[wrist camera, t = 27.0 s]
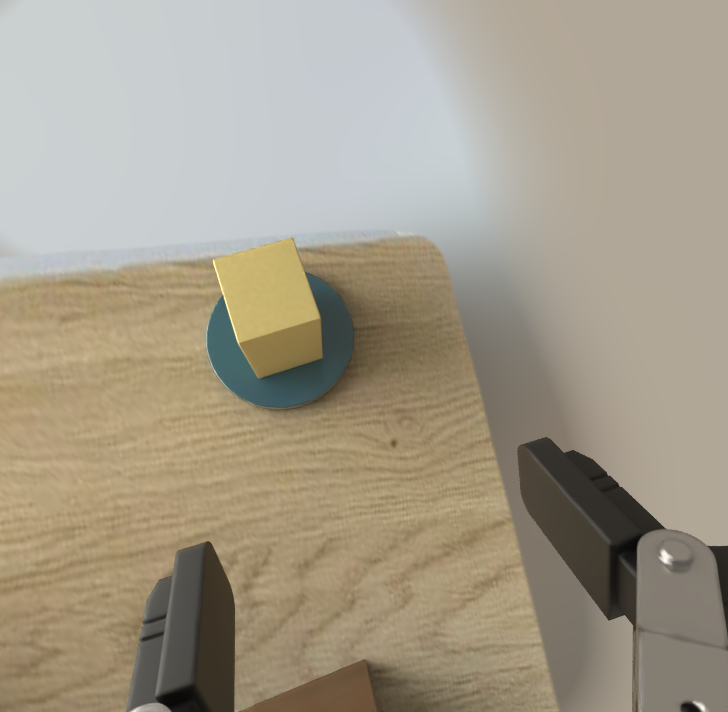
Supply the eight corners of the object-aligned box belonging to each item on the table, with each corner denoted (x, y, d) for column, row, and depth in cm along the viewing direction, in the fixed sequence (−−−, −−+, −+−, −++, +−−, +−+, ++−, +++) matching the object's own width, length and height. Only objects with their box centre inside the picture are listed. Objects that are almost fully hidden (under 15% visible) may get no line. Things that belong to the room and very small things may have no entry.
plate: (288, 247, 38) (287, 241, 37) (382, 343, 37) (383, 339, 36) (179, 335, 36) (174, 330, 35) (274, 441, 34) (273, 439, 33)
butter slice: (323, 358, 35) (321, 318, 27) (258, 379, 34) (238, 343, 27) (300, 293, 36) (292, 236, 29) (237, 311, 36) (212, 259, 28)
